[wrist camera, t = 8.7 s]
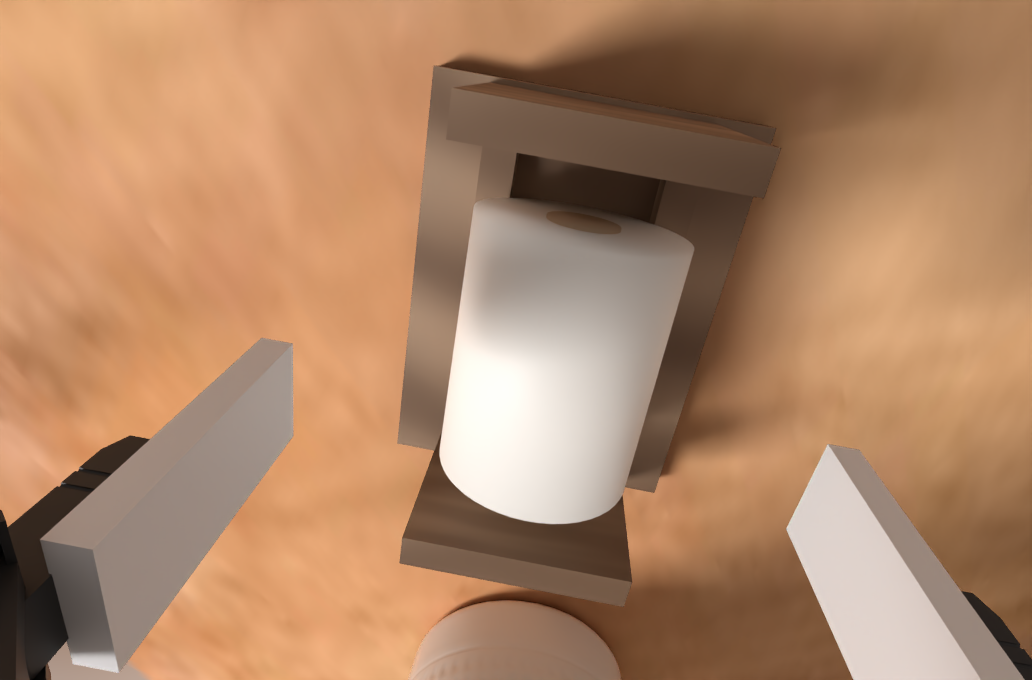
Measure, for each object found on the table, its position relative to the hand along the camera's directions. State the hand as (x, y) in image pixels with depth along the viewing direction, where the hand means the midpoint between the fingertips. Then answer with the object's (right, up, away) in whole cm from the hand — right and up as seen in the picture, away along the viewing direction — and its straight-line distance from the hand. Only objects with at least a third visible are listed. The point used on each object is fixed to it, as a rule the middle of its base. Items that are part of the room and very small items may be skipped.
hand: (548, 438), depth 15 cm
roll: (+1, +3, +9) cm, 10 cm away
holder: (+1, +4, +10) cm, 11 cm away
